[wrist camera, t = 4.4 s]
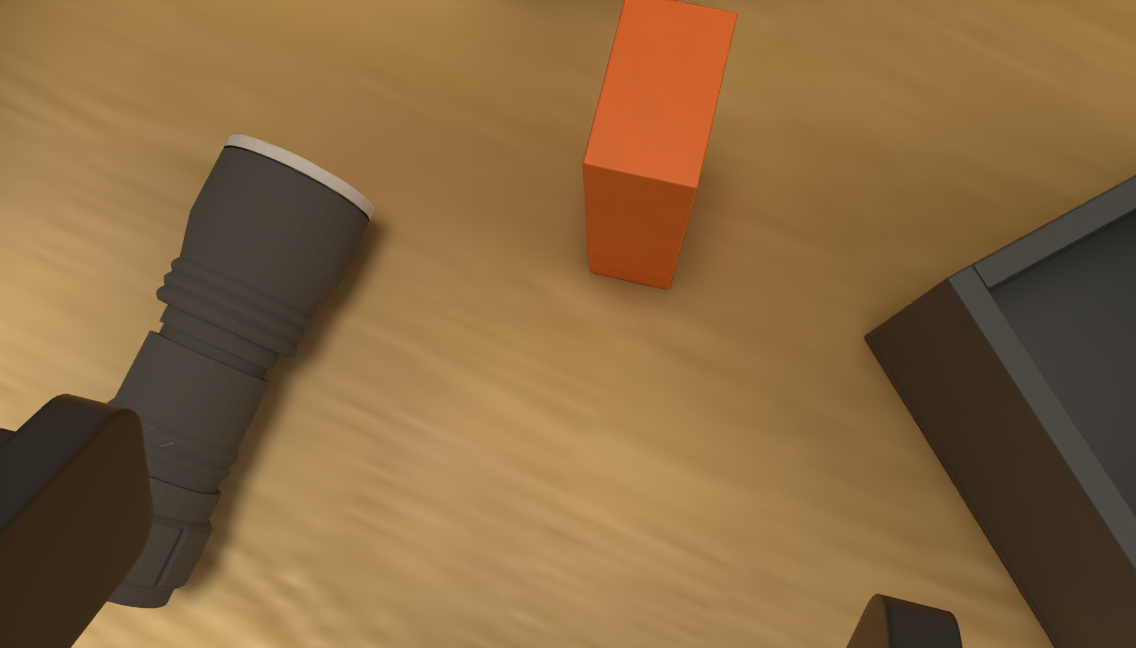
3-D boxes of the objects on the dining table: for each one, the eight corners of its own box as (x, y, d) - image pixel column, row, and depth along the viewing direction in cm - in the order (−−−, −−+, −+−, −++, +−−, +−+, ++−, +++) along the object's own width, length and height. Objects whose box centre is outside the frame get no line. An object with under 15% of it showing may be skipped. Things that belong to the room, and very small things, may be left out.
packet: (669, 290, 35) (697, 188, 24) (589, 272, 35) (582, 163, 24) (698, 164, 36) (737, 12, 25) (620, 147, 36) (626, -10, 25)
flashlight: (199, 615, 33) (123, 634, 28) (67, 551, 34) (-33, 558, 29) (389, 225, 36) (352, 176, 30) (263, 172, 36) (204, 115, 31)
